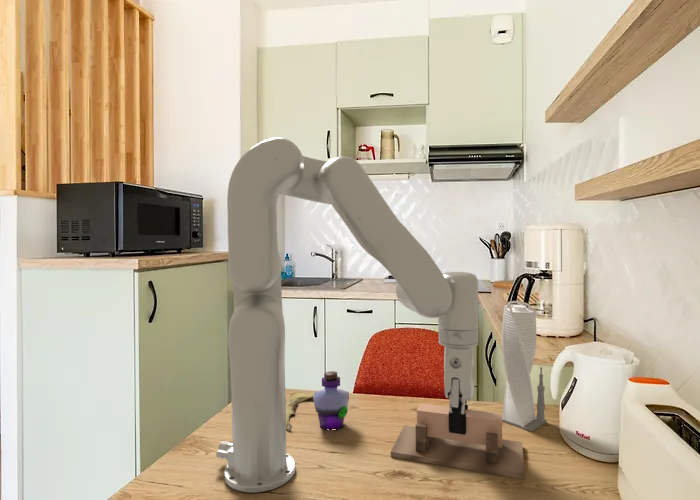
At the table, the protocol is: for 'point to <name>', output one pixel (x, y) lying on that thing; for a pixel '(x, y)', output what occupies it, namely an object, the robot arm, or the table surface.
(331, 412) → the potion bottle
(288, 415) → the animal bone
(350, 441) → the table surface
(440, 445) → the rack
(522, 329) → the skyscraper
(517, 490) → the table surface
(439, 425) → the pink rectangular block
